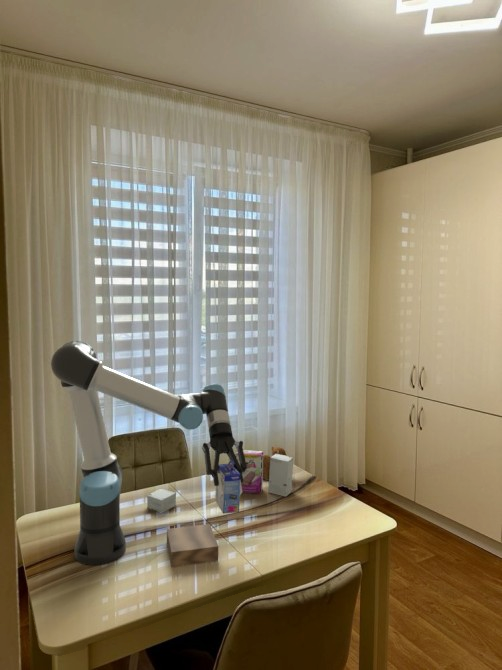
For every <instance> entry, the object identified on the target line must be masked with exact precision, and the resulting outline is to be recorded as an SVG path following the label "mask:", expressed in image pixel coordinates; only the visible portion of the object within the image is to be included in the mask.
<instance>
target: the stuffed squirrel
mask: <svg viewBox="0 0 502 670" xmlns="http://www.w3.org/2000/svg"><path fill="white" fill-rule="evenodd" d="M271 454H272V456H273V455H275V454H279V455H285V456H288V455H287V452H286V450H285V449H284V448H282V447H280V446H271ZM270 458H271V456H269V455H268V454H265V455H264V454H263V479H264V480H265V481H266V480H268V481H269V472H270Z"/></svg>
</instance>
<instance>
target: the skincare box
mask: <svg viewBox="0 0 502 670" xmlns="http://www.w3.org/2000/svg"><path fill="white" fill-rule="evenodd" d="M294 460H295V459H294V457H292V456H288V455H287V456H286V455H279V454H275V455H272V456H270V472H269V479H268V490H267V493H268V494H274V495H277V496H282V497H285V498H286V497H287V496H289V494H291V493H292V489H293V487H292V486H293V474H294V473H293V472H294Z"/></svg>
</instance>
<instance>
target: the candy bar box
mask: <svg viewBox="0 0 502 670" xmlns="http://www.w3.org/2000/svg"><path fill="white" fill-rule="evenodd" d="M243 452H244V457H245V461H246V465H247V469H246V471H245V472H243V473H242V476H243V483H242V484H241V486H242V493H245V494H246V493H248V494H260V495H261V494H262V491H263V479H264V478H263V456H264V451H262V450H249V449H243ZM234 454H235V456H236V458H237V460H238V462H239V464H240V461H239V457H238V452H237V450H236V451H235V453H234ZM240 467H241V466H240Z"/></svg>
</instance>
